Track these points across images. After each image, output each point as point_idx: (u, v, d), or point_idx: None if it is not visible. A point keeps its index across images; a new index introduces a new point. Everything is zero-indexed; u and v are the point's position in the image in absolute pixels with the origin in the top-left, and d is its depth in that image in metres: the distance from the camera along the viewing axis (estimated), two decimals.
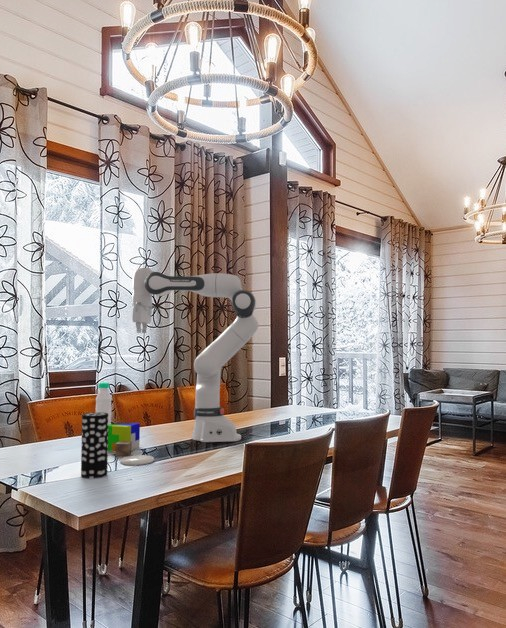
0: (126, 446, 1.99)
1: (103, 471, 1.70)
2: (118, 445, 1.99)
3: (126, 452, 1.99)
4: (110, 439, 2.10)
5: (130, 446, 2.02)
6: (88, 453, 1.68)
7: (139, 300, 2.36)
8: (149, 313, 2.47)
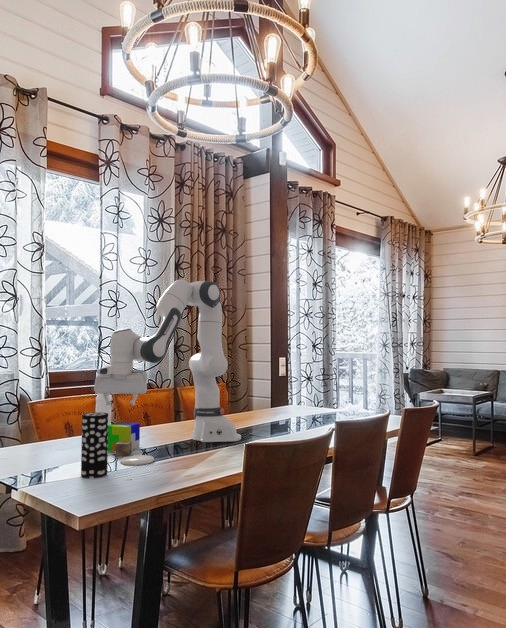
0: (126, 446, 1.99)
1: (103, 471, 1.70)
2: (118, 445, 1.99)
3: (126, 452, 1.99)
4: (110, 439, 2.10)
5: (130, 446, 2.02)
6: (88, 453, 1.68)
7: (132, 367, 2.04)
8: None
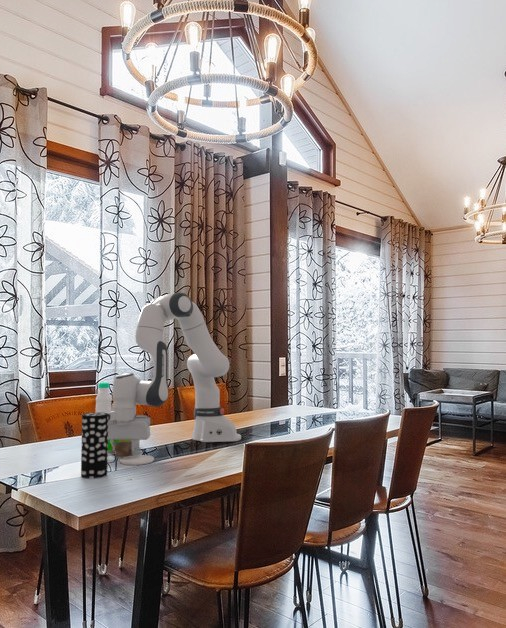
0: (126, 446, 1.99)
1: (103, 471, 1.70)
2: (118, 445, 1.99)
3: (126, 452, 1.99)
4: None
5: None
6: (88, 453, 1.68)
7: (135, 412, 2.02)
8: None
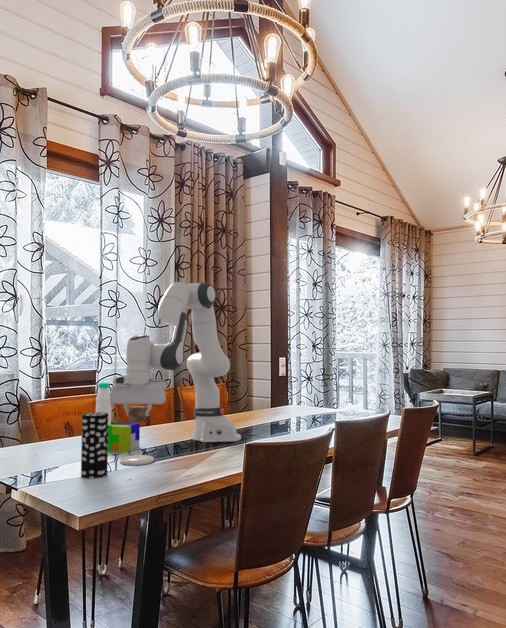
0: (140, 410, 1.89)
1: (103, 471, 1.70)
2: (132, 409, 1.89)
3: (140, 417, 1.89)
4: (110, 439, 2.10)
5: (144, 411, 1.92)
6: (88, 453, 1.68)
7: (149, 376, 1.92)
8: None
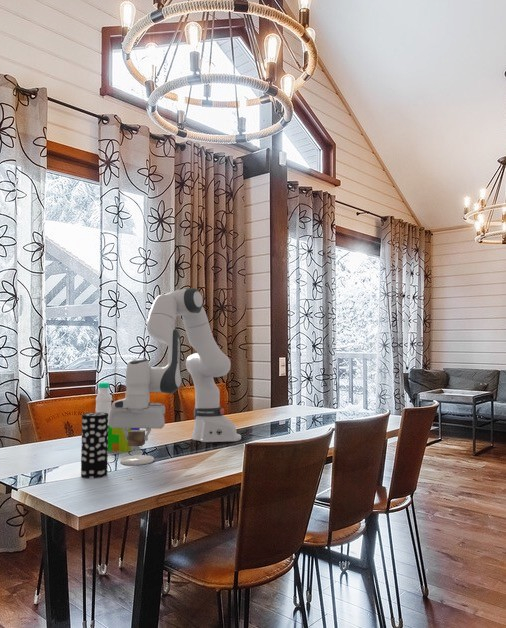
0: (139, 435, 1.89)
1: (103, 471, 1.70)
2: (131, 434, 1.89)
3: (139, 441, 1.89)
4: (110, 439, 2.10)
5: (143, 435, 1.92)
6: (88, 453, 1.68)
7: (149, 400, 1.92)
8: None
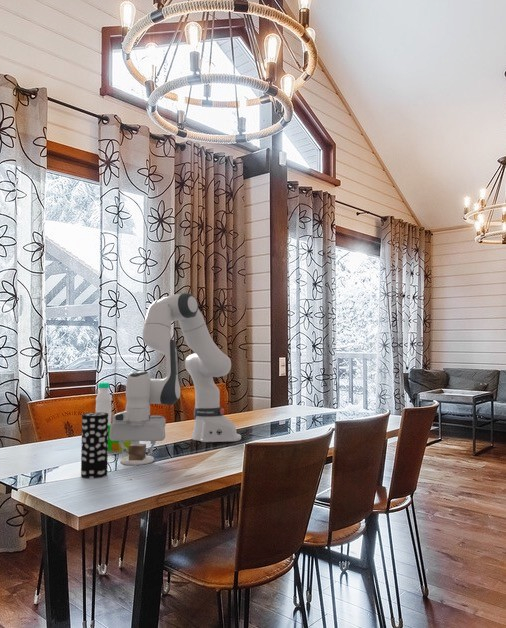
0: (140, 449, 1.89)
1: (103, 471, 1.70)
2: (132, 448, 1.89)
3: (140, 455, 1.88)
4: (110, 439, 2.10)
5: (144, 449, 1.92)
6: (88, 453, 1.68)
7: (149, 412, 1.92)
8: None
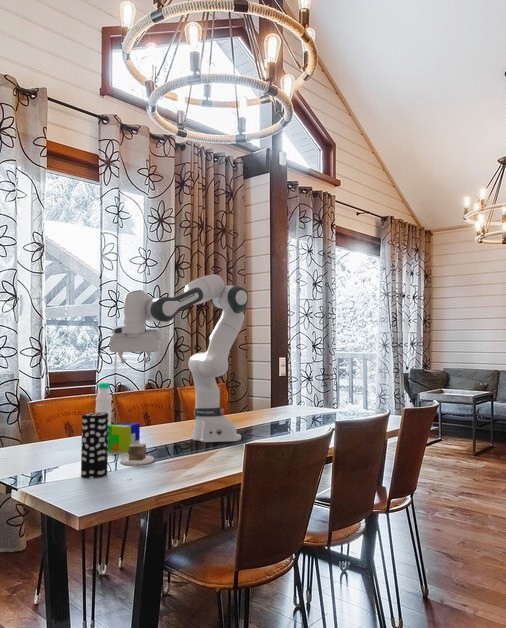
0: (140, 449, 1.89)
1: (103, 471, 1.70)
2: (132, 448, 1.89)
3: (140, 455, 1.88)
4: (110, 439, 2.10)
5: (144, 449, 1.92)
6: (88, 453, 1.68)
7: (145, 327, 2.13)
8: None
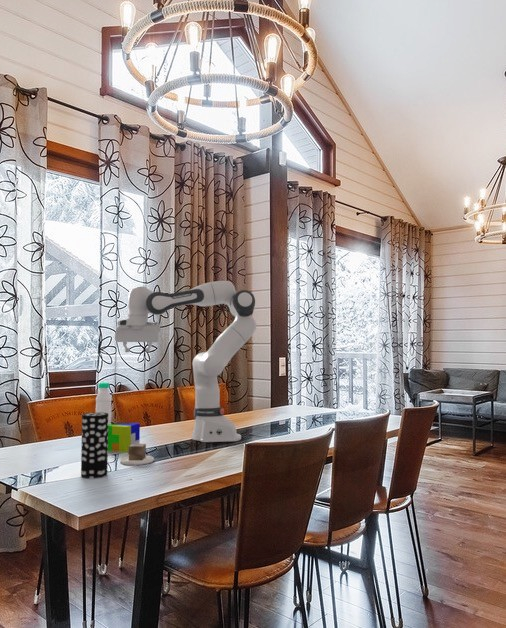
0: (140, 449, 1.89)
1: (103, 471, 1.70)
2: (132, 448, 1.89)
3: (140, 455, 1.88)
4: (110, 439, 2.10)
5: (144, 449, 1.92)
6: (88, 453, 1.68)
7: (147, 320, 2.38)
8: None
